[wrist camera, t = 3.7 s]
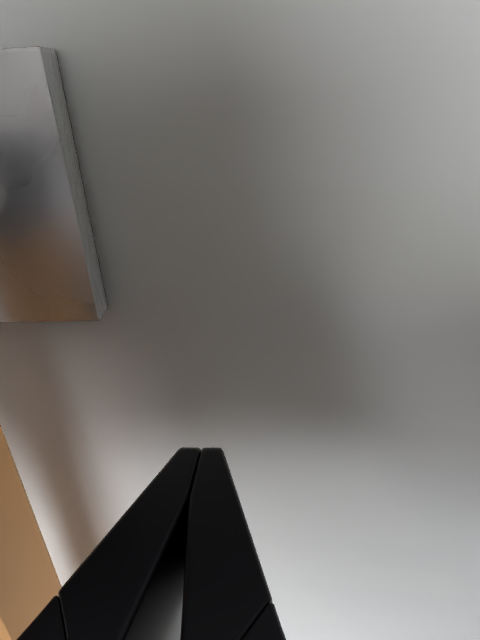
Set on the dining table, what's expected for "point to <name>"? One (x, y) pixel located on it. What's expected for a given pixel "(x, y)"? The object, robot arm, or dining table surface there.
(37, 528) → the bar
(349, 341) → the dining table surface
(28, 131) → the square metal plate
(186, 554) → the robot arm
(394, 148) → the dining table surface
